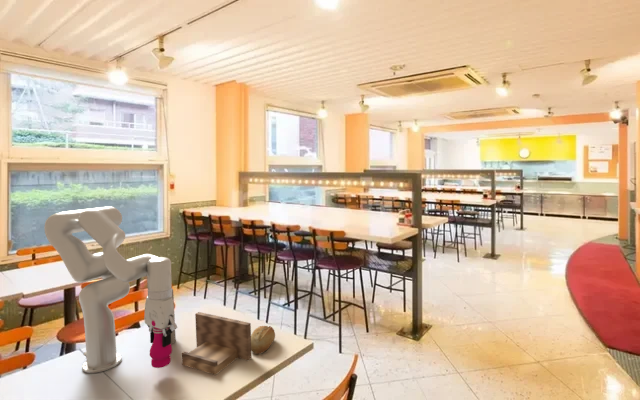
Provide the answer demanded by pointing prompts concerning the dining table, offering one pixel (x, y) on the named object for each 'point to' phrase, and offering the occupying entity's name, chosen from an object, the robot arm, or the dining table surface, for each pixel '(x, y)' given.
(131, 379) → the dining table surface
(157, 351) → the pepper mill
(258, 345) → the bread roll
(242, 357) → the wall shelf
